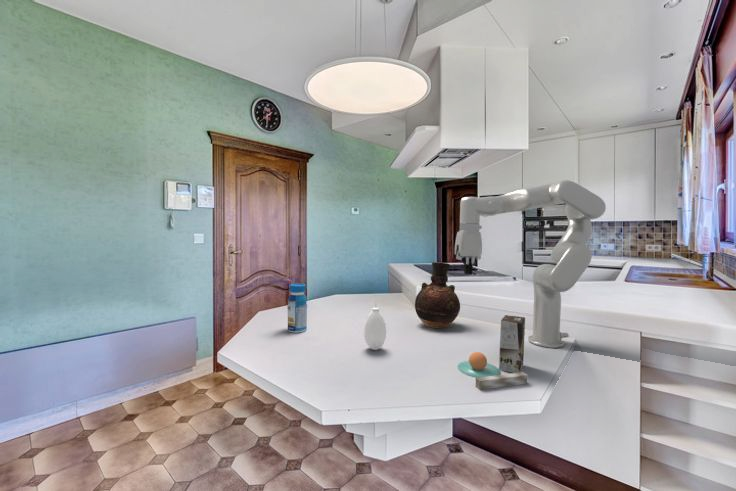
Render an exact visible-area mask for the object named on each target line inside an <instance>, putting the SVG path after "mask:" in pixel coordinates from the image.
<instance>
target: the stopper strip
mask: <svg viewBox="0 0 736 491" xmlns="http://www.w3.org/2000/svg"><path fill="white" fill-rule="evenodd" d="M526 384H528V374H527V373H524V372H523V371H521V372H520V373H512V372H511V373H505V374H500V375H496V376H487V377H479V378H477V377H475V388H477V389H478V390H479V391H480V390H481V391H482V390H489V389H495V388H504V387H511V386H517V385H518V386H519V385H526Z"/></svg>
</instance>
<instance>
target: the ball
mask: <svg viewBox="0 0 736 491" xmlns="http://www.w3.org/2000/svg"><path fill="white" fill-rule="evenodd" d="M468 361H469V363H470V365H471V367H472V368H474V369H475V370H482V369H484V368H485V367H486V365H487V363H488V360H487V356H486V355H485V354H483V353H482V352H479V351H474V352H472V353H471V354H470V355H469V358H468Z"/></svg>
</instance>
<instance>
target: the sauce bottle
mask: <svg viewBox="0 0 736 491" xmlns="http://www.w3.org/2000/svg"><path fill="white" fill-rule="evenodd" d="M363 334H364V340H365V343H366V345H367V346H368V348H370V349H371V350H373V351H377V350H380V348H382V347H383V346H384V344H385V341H386V338H387V336H386V335H387V326H386V323H385V319H384V316H383V314H382V312H381V310H380V308H379V307H377V301H375V303H374V307H372V308H371V311H370V312H369V314H368V316H367V318H366V321H365V323H364V333H363Z"/></svg>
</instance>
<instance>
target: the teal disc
mask: <svg viewBox="0 0 736 491" xmlns="http://www.w3.org/2000/svg"><path fill="white" fill-rule="evenodd" d="M457 369H458V370H459V371H460V372H461V373H462V374H465V375H466V376H468V377H473V378H479V377H487V376H496V375H502V374H501V373H502V372H501V371H502V370H500V369H499V367H497V366H495V365H494V364H491V363H488V362H487V365H486V367H485V368H484V369H482V370H475V369H474V368H472V367H471V365H470V363H469V360H466V361H462V362H459V363H458V365H457Z"/></svg>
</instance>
